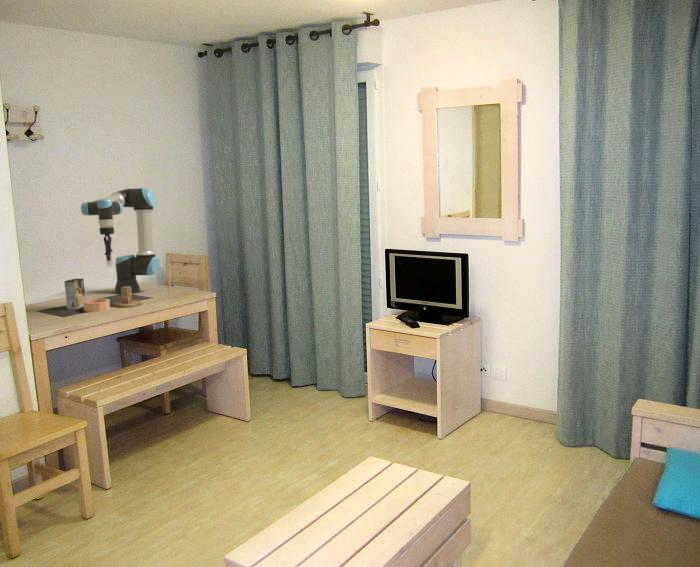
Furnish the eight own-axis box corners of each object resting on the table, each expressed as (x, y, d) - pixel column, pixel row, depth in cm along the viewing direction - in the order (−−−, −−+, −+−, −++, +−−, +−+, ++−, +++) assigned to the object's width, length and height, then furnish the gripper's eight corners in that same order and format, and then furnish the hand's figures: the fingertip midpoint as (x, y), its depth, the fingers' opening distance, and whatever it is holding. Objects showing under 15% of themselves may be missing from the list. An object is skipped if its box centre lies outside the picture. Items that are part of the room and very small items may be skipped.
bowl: (93, 307, 388) (93, 298, 387) (114, 307, 385) (114, 299, 384) (79, 312, 375) (78, 303, 374) (100, 312, 372) (99, 303, 371)
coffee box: (76, 306, 393) (73, 278, 390) (86, 306, 392) (83, 278, 389) (66, 309, 384) (64, 281, 381) (77, 309, 383) (74, 281, 380)
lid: (122, 301, 400) (121, 284, 399) (147, 302, 396) (146, 284, 395) (106, 307, 385) (105, 289, 383) (132, 307, 381) (130, 289, 379)
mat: (123, 302, 399) (123, 302, 399) (144, 303, 396) (144, 302, 396) (109, 307, 386) (109, 306, 386) (131, 308, 382) (131, 307, 382)
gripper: (100, 225, 391) (103, 262, 394) (98, 229, 367) (101, 268, 371) (114, 225, 393) (117, 261, 397) (113, 228, 370) (116, 267, 373)
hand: (109, 265), depth 384 cm, fingers open, 13 cm apart
